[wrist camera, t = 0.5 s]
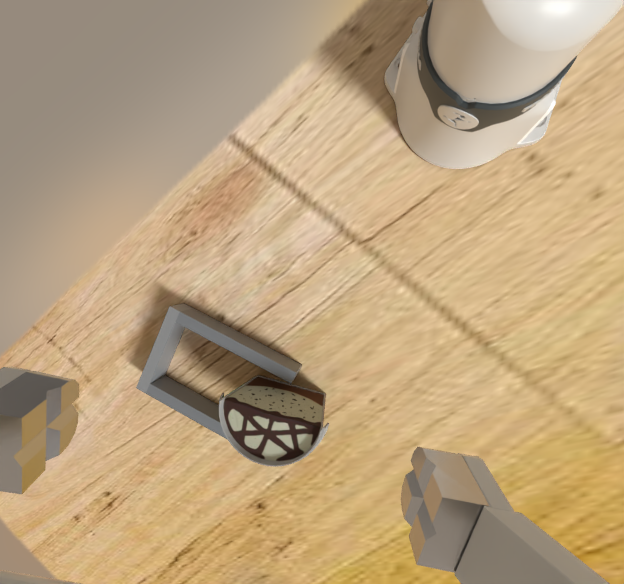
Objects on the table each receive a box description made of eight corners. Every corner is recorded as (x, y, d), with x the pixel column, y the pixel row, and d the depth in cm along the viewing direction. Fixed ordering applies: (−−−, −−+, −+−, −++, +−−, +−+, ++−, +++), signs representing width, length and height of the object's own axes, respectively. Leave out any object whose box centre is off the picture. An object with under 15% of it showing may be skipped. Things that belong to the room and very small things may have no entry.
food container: (238, 414, 50) (204, 452, 41) (247, 371, 50) (214, 399, 40) (326, 440, 49) (314, 486, 39) (337, 396, 48) (326, 431, 38)
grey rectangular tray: (183, 303, 50) (169, 306, 47) (302, 364, 48) (296, 372, 45) (152, 379, 52) (136, 388, 49) (264, 442, 50) (256, 455, 47)
